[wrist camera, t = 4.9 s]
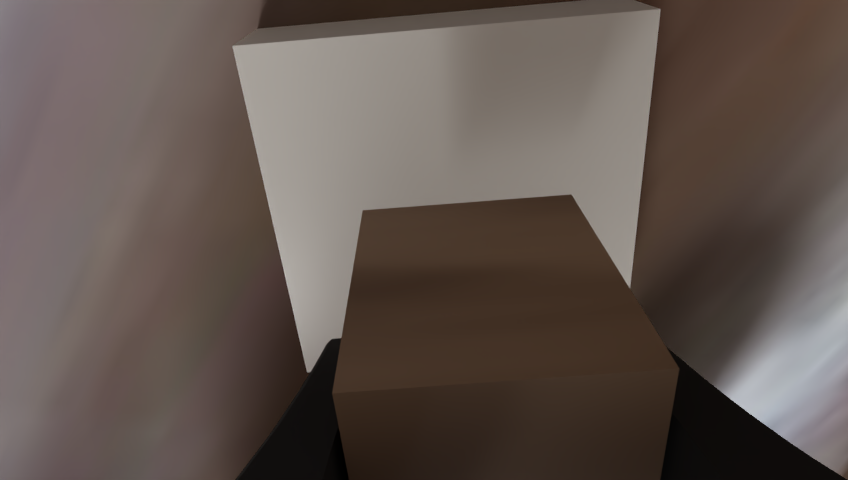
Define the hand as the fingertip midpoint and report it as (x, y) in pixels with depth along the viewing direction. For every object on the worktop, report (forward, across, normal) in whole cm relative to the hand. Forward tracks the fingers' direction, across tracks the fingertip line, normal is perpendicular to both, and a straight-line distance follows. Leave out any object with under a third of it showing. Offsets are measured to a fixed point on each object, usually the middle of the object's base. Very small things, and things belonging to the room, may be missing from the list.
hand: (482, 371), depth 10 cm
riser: (+9, 0, 0) cm, 9 cm away
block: (+2, 0, 0) cm, 2 cm away
